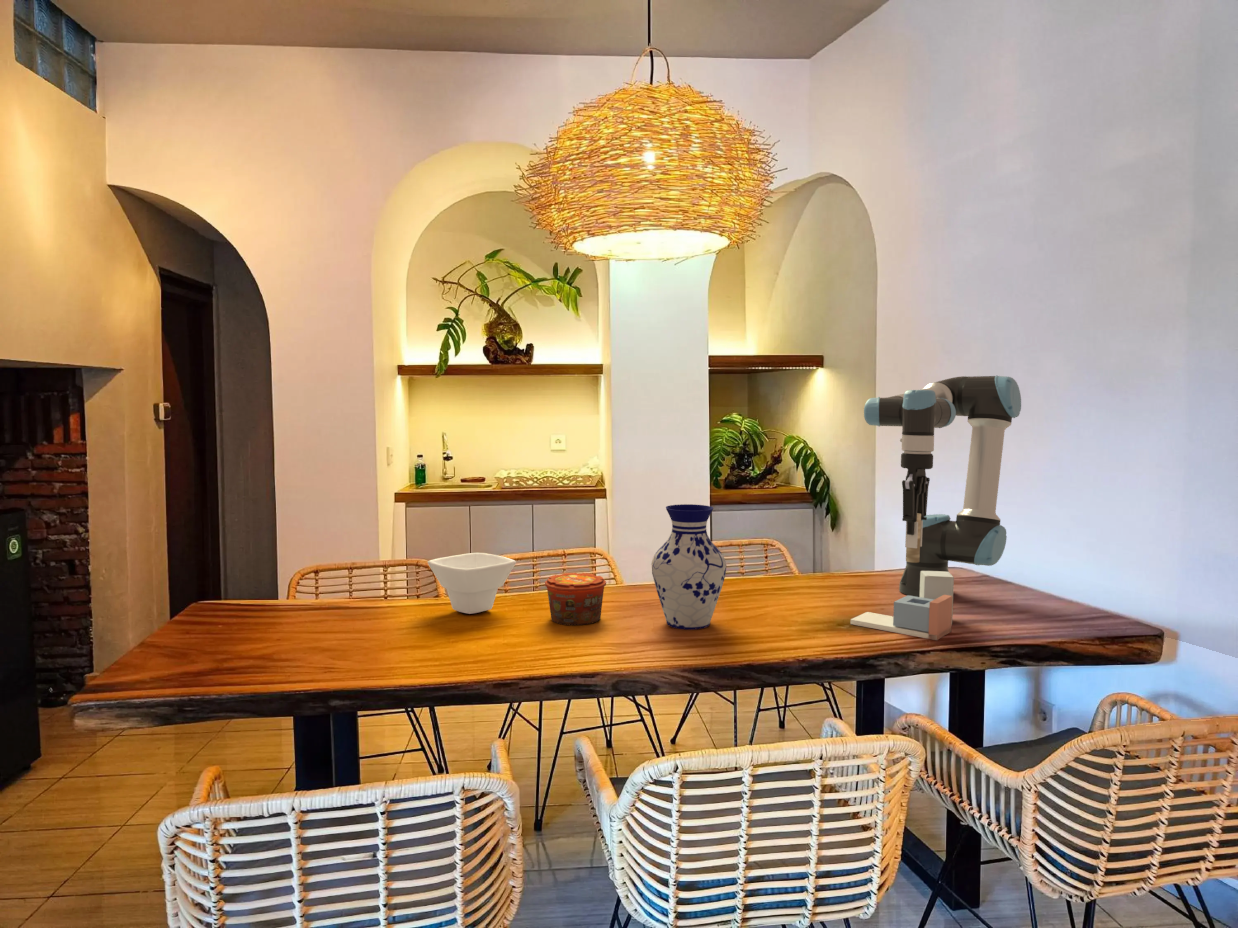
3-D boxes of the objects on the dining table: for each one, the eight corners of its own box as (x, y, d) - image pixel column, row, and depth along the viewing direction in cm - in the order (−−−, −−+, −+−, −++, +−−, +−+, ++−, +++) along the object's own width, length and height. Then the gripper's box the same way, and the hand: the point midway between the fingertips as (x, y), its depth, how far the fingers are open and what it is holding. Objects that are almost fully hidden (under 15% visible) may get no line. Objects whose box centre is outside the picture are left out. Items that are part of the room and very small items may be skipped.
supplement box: (952, 625, 219) (954, 576, 218) (922, 624, 220) (923, 575, 219) (947, 618, 226) (949, 571, 225) (918, 616, 227) (919, 569, 226)
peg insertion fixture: (866, 616, 228) (867, 582, 227) (951, 631, 213) (952, 595, 213) (850, 623, 220) (851, 589, 219) (936, 640, 206) (938, 603, 205)
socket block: (907, 618, 220) (907, 595, 220) (942, 624, 214) (943, 600, 214) (893, 625, 213) (893, 601, 213) (929, 632, 207) (930, 607, 207)
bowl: (522, 611, 231) (522, 560, 230) (464, 625, 217) (463, 571, 216) (479, 599, 244) (479, 551, 243) (421, 612, 230) (420, 560, 229)
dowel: (921, 561, 214) (922, 513, 213) (916, 563, 212) (918, 514, 211) (908, 559, 216) (910, 512, 215) (903, 561, 214) (905, 513, 213)
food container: (534, 623, 219) (534, 582, 218) (560, 609, 234) (560, 570, 233) (592, 630, 213) (592, 587, 213) (615, 614, 228) (615, 574, 228)
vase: (732, 617, 225) (734, 504, 223) (716, 637, 207) (718, 514, 205) (662, 611, 231) (663, 501, 229) (641, 629, 214) (642, 510, 211)
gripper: (913, 450, 220) (909, 541, 222) (890, 453, 208) (887, 549, 210) (942, 451, 216) (939, 544, 218) (921, 454, 203) (917, 552, 205)
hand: (913, 546), depth 214 cm, fingers closed on dowel, 3 cm apart
